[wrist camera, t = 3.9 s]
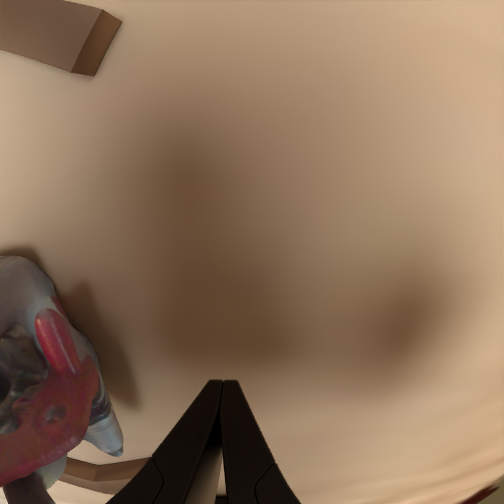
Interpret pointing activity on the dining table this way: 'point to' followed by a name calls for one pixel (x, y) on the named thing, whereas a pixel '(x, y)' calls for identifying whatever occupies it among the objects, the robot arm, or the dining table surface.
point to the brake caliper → (45, 386)
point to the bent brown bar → (82, 62)
